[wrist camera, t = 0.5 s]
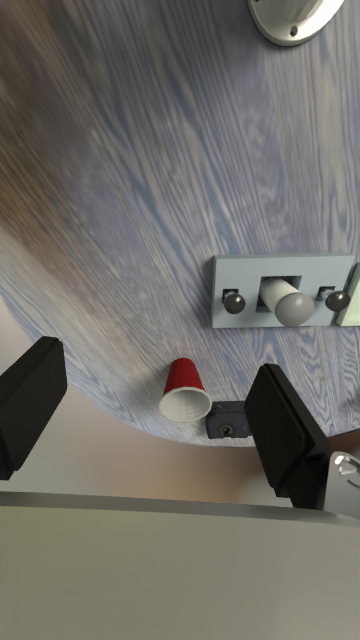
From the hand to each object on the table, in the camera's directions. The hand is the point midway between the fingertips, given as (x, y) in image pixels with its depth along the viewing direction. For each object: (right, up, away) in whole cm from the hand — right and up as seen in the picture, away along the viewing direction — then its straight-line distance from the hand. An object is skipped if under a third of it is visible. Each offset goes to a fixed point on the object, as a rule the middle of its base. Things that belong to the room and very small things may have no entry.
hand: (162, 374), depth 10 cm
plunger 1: (+10, +8, +31) cm, 34 cm away
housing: (+19, +9, +33) cm, 39 cm away
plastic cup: (+2, -9, +43) cm, 43 cm away
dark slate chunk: (+19, -26, +53) cm, 62 cm away
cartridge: (+19, +9, +33) cm, 39 cm away
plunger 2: (+28, +8, +31) cm, 43 cm away
